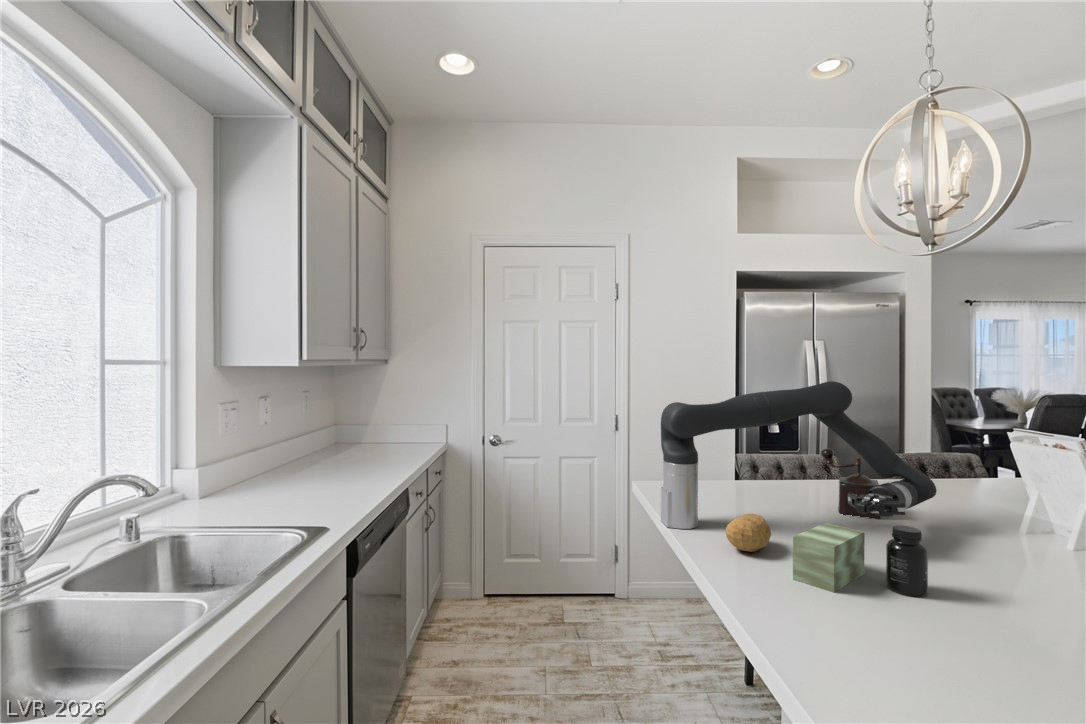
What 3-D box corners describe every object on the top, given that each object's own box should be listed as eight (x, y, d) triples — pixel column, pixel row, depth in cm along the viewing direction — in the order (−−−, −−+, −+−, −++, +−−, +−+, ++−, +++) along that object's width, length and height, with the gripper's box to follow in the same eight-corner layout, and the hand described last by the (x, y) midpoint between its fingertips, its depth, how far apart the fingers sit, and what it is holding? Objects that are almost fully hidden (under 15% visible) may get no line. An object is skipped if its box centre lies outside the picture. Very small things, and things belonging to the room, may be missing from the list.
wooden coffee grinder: (877, 510, 163) (878, 450, 163) (881, 519, 153) (881, 456, 153) (820, 503, 170) (820, 446, 170) (819, 512, 160) (820, 452, 160)
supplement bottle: (936, 598, 102) (937, 534, 102) (900, 597, 103) (900, 534, 102) (912, 583, 109) (912, 523, 109) (878, 582, 109) (878, 523, 109)
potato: (776, 545, 132) (776, 512, 132) (763, 562, 120) (763, 526, 120) (735, 537, 137) (735, 506, 137) (719, 553, 125) (719, 519, 125)
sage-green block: (824, 563, 120) (825, 522, 120) (864, 574, 114) (864, 531, 114) (792, 580, 111) (793, 536, 111) (833, 593, 105) (834, 547, 104)
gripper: (860, 478, 139) (831, 486, 128) (920, 489, 129) (894, 498, 118) (859, 507, 139) (829, 518, 128) (919, 520, 129) (892, 533, 118)
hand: (860, 508), depth 123 cm, fingers closed
